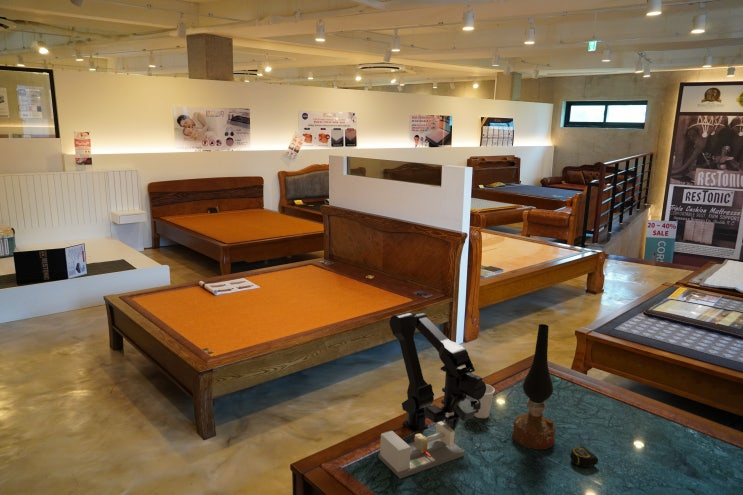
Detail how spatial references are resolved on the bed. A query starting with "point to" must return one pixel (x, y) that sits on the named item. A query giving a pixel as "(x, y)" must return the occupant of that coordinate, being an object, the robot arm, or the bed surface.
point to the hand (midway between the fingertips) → (451, 432)
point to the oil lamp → (536, 400)
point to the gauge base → (414, 454)
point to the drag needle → (421, 443)
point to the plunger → (443, 434)
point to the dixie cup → (485, 402)
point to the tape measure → (583, 457)
